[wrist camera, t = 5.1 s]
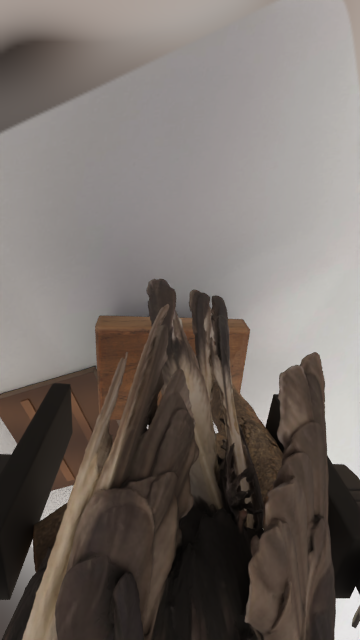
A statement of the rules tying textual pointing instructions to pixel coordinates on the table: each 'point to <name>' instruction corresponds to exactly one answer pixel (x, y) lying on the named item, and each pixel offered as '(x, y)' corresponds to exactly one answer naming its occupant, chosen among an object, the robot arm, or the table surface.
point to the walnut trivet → (85, 411)
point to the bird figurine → (188, 496)
